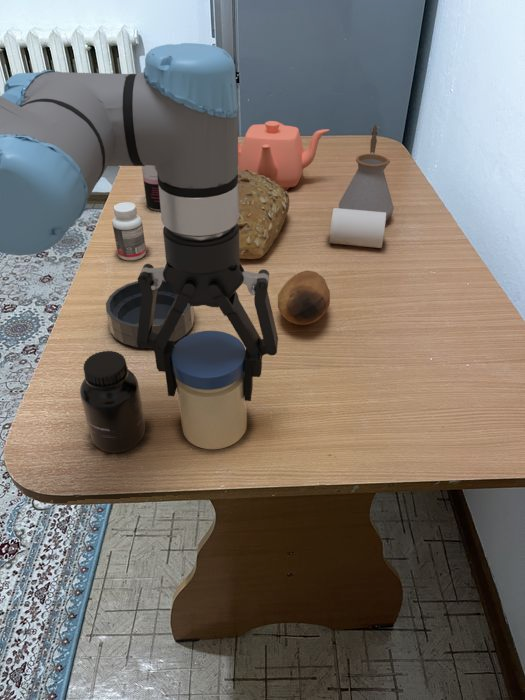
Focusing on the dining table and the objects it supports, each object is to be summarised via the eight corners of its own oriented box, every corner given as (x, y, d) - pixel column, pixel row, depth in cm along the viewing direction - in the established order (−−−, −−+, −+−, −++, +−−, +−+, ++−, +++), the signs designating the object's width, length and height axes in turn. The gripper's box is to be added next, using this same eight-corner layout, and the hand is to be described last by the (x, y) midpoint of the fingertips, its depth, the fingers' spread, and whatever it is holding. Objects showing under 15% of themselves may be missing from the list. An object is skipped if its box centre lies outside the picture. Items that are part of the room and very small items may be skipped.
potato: (297, 314, 98) (338, 292, 96) (294, 347, 86) (340, 323, 84) (275, 279, 96) (315, 255, 94) (267, 308, 84) (314, 281, 82)
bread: (202, 203, 126) (198, 149, 119) (295, 214, 122) (298, 159, 114) (159, 255, 108) (152, 196, 100) (267, 271, 104) (268, 210, 96)
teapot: (325, 185, 134) (330, 125, 126) (264, 204, 126) (264, 141, 117) (278, 162, 146) (280, 105, 137) (219, 178, 137) (216, 119, 128)
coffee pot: (391, 233, 115) (403, 161, 106) (335, 228, 117) (342, 156, 107) (392, 191, 132) (402, 125, 122) (342, 187, 133) (349, 122, 124)
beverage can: (179, 199, 127) (173, 131, 118) (173, 212, 122) (166, 142, 113) (151, 198, 128) (142, 130, 118) (143, 210, 123) (134, 141, 113)
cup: (381, 238, 114) (332, 233, 115) (386, 206, 110) (335, 202, 111) (380, 254, 109) (328, 249, 110) (385, 222, 104) (331, 217, 106)
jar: (176, 447, 71) (167, 385, 64) (188, 400, 77) (181, 340, 71) (243, 451, 70) (241, 389, 64) (249, 403, 77) (248, 343, 70)
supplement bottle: (90, 458, 69) (70, 386, 62) (92, 418, 74) (74, 348, 67) (147, 450, 70) (134, 378, 63) (145, 411, 75) (133, 341, 68)
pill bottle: (115, 250, 109) (107, 202, 103) (142, 245, 111) (136, 198, 105) (121, 263, 105) (112, 215, 99) (149, 258, 107) (142, 210, 101)
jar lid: (249, 387, 64) (249, 375, 63) (172, 393, 63) (171, 380, 62) (242, 340, 71) (242, 328, 70) (172, 344, 70) (171, 332, 69)
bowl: (100, 348, 86) (94, 324, 83) (123, 299, 96) (119, 277, 93) (186, 352, 85) (183, 329, 82) (200, 303, 95) (198, 280, 93)
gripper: (310, 211, 58) (298, 375, 72) (105, 202, 59) (133, 366, 73) (309, 247, 52) (296, 418, 66) (81, 236, 53) (117, 406, 67)
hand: (211, 390), depth 70 cm, fingers closed on jar lid, 9 cm apart
